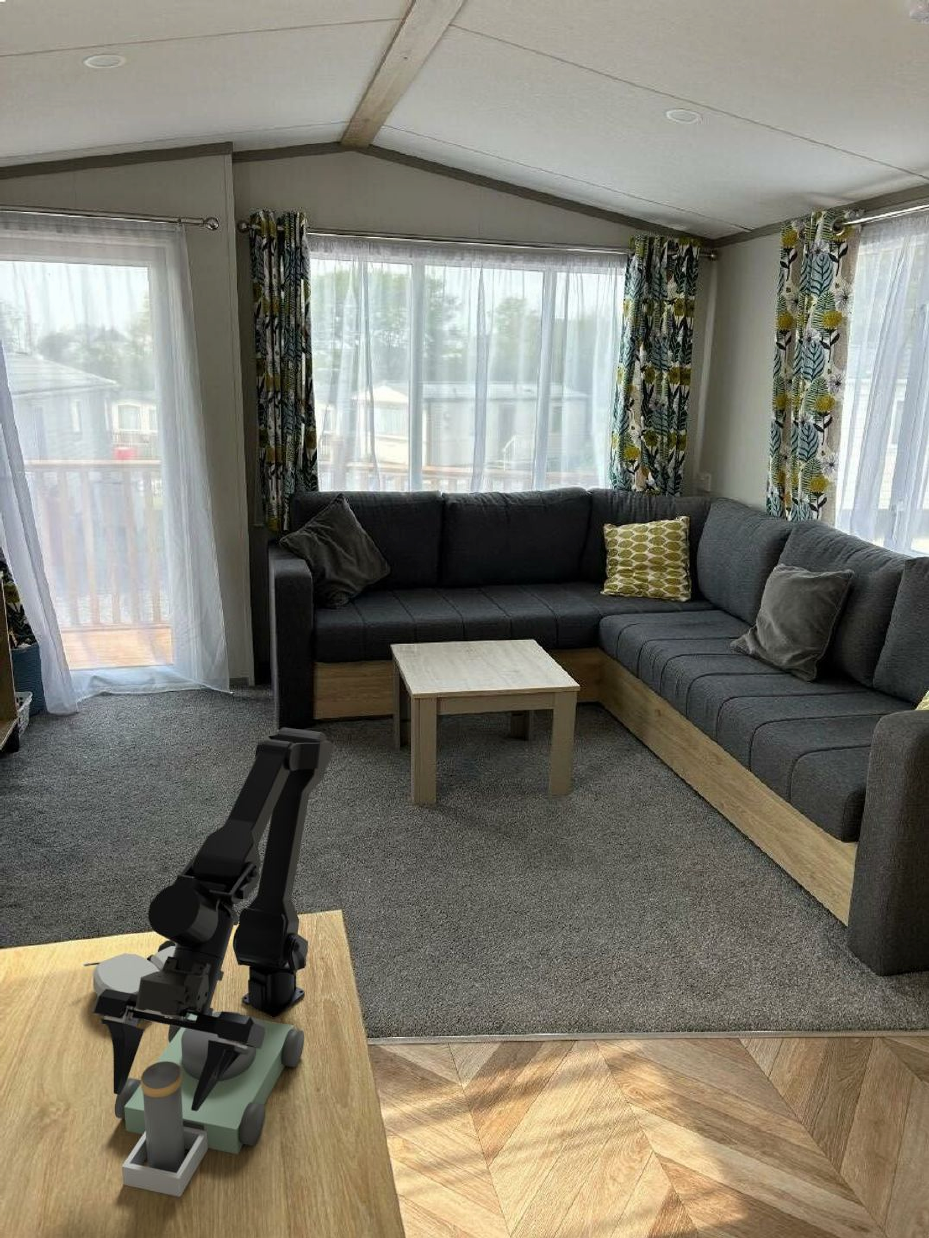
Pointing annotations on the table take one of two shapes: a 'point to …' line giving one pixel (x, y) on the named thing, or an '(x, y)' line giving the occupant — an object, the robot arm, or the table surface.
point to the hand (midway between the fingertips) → (155, 1102)
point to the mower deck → (209, 1101)
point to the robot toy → (128, 969)
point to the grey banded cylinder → (163, 1116)
